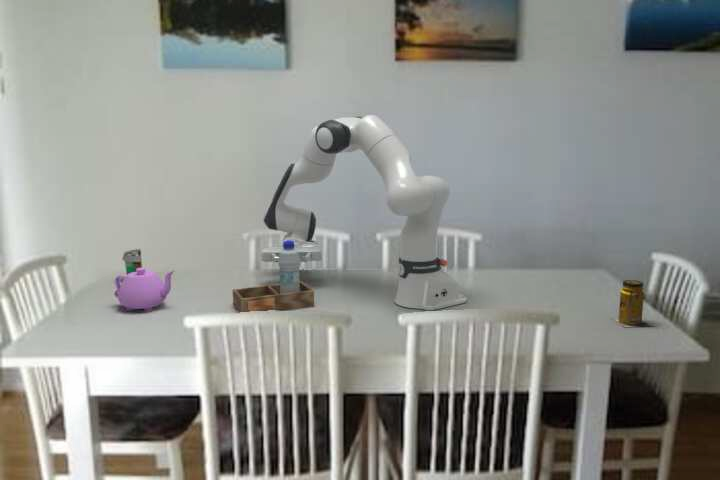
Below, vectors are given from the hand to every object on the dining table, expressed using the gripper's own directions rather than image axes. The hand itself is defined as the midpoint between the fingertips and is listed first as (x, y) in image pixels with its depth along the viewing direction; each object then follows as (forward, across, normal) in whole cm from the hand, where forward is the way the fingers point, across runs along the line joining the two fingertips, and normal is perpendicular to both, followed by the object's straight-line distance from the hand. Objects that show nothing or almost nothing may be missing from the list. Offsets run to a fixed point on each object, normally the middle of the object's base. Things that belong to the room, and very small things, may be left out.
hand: (290, 259), depth 214 cm
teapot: (+12, -44, +11) cm, 47 cm away
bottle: (+12, 0, +11) cm, 17 cm away
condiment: (+37, +97, +11) cm, 105 cm away
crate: (+14, -5, +11) cm, 18 cm away
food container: (-19, -56, +11) cm, 61 cm away
